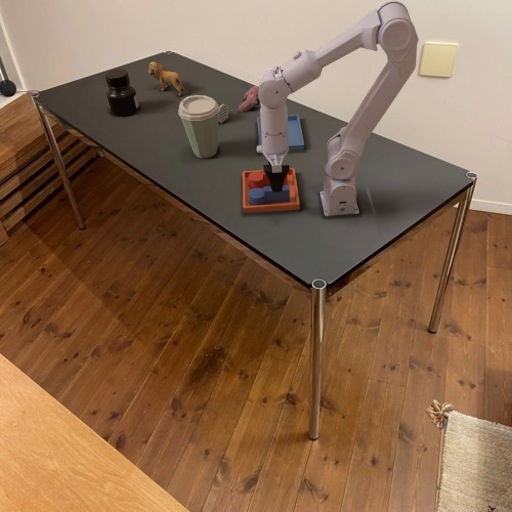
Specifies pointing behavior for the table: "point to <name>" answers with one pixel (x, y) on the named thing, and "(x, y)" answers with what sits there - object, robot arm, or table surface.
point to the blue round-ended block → (269, 195)
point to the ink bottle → (121, 93)
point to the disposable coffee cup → (201, 124)
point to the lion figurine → (165, 77)
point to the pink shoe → (249, 99)
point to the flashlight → (222, 111)
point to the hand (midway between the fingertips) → (276, 181)
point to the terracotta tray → (267, 207)
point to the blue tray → (289, 133)
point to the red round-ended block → (261, 180)
